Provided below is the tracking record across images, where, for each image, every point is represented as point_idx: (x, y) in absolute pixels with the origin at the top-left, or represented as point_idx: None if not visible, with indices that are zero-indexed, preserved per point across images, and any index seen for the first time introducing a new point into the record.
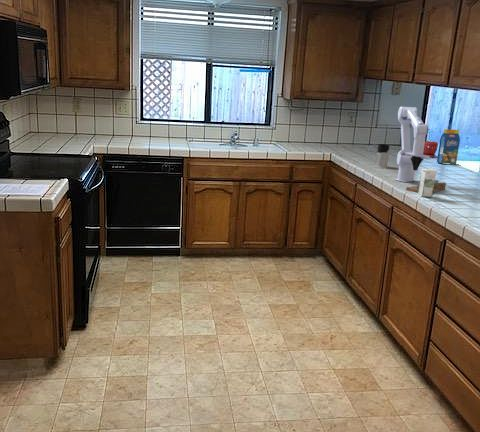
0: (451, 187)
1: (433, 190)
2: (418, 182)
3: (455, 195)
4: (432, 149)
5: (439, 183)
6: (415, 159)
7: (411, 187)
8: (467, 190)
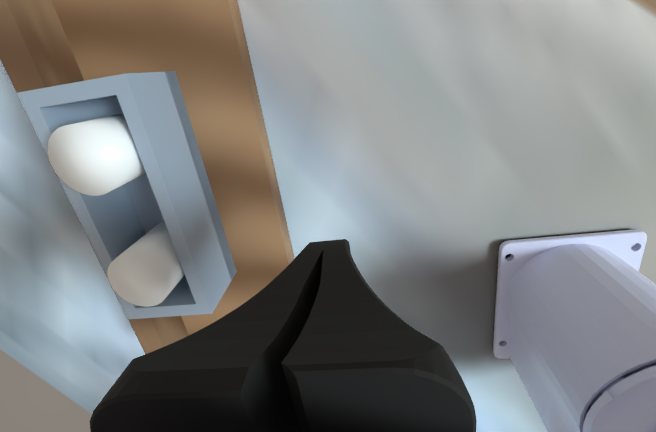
0: None
1: None
2: (131, 73)
3: (3, 248)
4: None
5: None
6: (209, 360)
7: (191, 2)
8: None
